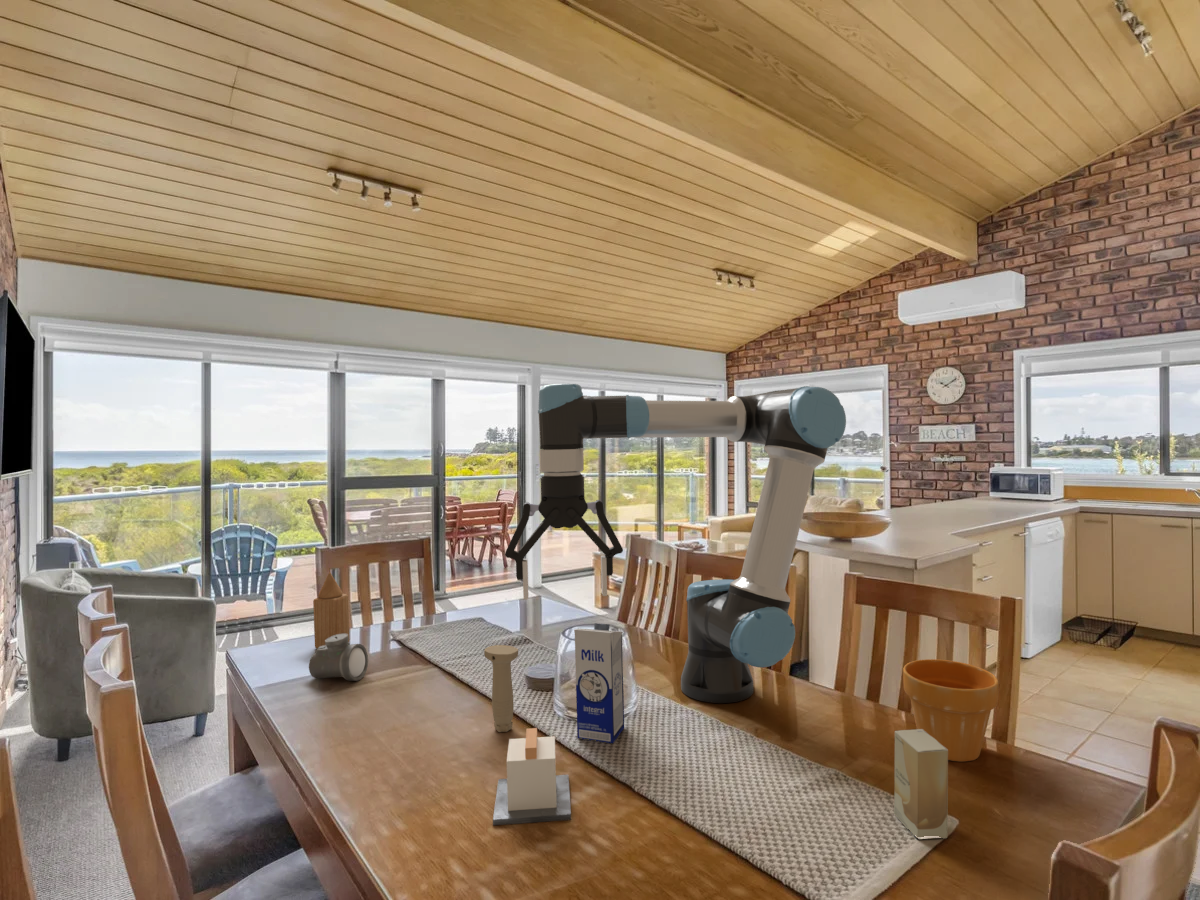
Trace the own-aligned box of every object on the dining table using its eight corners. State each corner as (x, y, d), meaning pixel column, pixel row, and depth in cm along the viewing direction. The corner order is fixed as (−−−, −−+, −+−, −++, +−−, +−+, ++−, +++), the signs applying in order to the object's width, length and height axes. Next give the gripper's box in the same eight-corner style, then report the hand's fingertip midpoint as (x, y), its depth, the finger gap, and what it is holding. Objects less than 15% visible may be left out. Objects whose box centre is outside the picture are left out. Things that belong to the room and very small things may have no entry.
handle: (509, 738, 120) (507, 656, 119) (481, 731, 123) (479, 651, 122) (525, 727, 124) (522, 648, 123) (497, 720, 127) (495, 643, 127)
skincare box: (893, 814, 93) (891, 729, 93) (922, 812, 94) (921, 727, 93) (918, 842, 87) (917, 750, 86) (950, 840, 87) (949, 748, 87)
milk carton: (576, 738, 119) (573, 628, 118) (589, 722, 125) (587, 618, 125) (613, 744, 116) (610, 631, 116) (625, 727, 123) (622, 620, 122)
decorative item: (313, 649, 173) (311, 573, 173) (328, 641, 180) (325, 568, 179) (337, 649, 172) (334, 573, 172) (350, 641, 179) (348, 568, 178)
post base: (568, 779, 105) (567, 749, 105) (571, 819, 94) (570, 786, 94) (498, 784, 104) (497, 754, 104) (493, 825, 93) (492, 791, 93)
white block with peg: (556, 807, 96) (555, 747, 95) (507, 810, 95) (506, 750, 95) (556, 782, 103) (554, 726, 102) (510, 785, 102) (509, 728, 102)
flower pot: (988, 736, 116) (987, 662, 115) (1009, 776, 102) (1008, 693, 102) (899, 726, 120) (899, 655, 120) (909, 763, 107) (908, 684, 107)
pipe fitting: (373, 671, 155) (365, 629, 154) (352, 687, 147) (344, 642, 146) (329, 673, 158) (321, 632, 157) (307, 689, 150) (298, 646, 149)
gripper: (631, 470, 119) (633, 587, 119) (491, 474, 117) (494, 593, 117) (636, 473, 111) (639, 597, 112) (487, 477, 109) (491, 604, 110)
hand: (565, 596), depth 115 cm, fingers open, 13 cm apart
